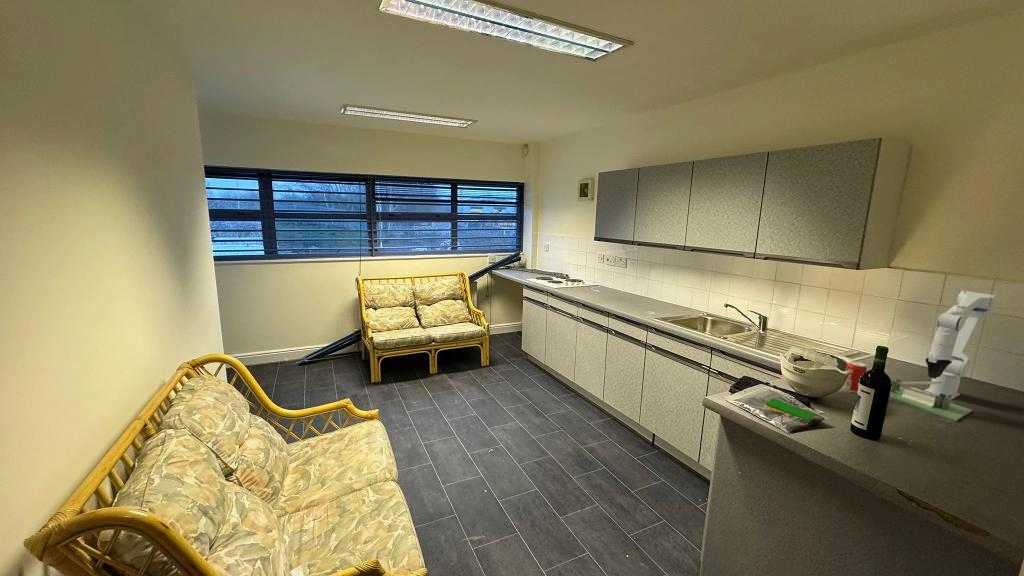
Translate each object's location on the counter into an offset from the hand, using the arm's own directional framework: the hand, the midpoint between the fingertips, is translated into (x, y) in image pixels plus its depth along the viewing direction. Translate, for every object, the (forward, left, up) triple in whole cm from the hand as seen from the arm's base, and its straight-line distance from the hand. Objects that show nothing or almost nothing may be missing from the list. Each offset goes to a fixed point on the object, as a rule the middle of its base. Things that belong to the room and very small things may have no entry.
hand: (933, 376), depth 156 cm
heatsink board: (+3, -1, -10) cm, 11 cm away
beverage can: (+17, -18, -11) cm, 27 cm away
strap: (+3, -3, -4) cm, 6 cm away
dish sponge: (+61, -19, -11) cm, 65 cm away
